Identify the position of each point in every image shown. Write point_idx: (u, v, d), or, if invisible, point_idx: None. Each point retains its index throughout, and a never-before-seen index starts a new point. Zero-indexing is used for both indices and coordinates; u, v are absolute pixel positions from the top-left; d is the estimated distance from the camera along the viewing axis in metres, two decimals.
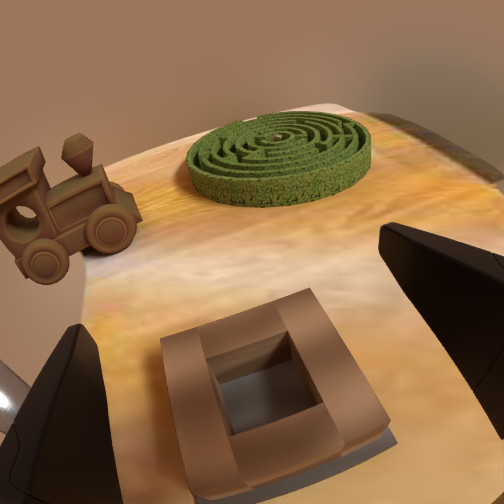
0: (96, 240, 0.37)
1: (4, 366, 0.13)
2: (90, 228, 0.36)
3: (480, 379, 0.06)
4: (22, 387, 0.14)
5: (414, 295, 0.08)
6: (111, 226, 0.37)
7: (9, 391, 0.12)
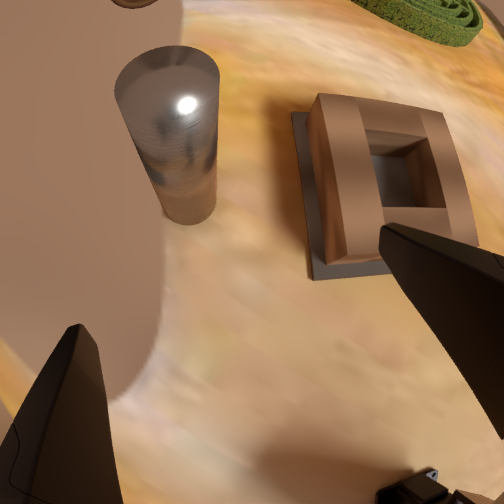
0: None
1: None
2: None
3: (480, 379, 0.06)
4: None
5: (414, 295, 0.08)
6: None
7: None
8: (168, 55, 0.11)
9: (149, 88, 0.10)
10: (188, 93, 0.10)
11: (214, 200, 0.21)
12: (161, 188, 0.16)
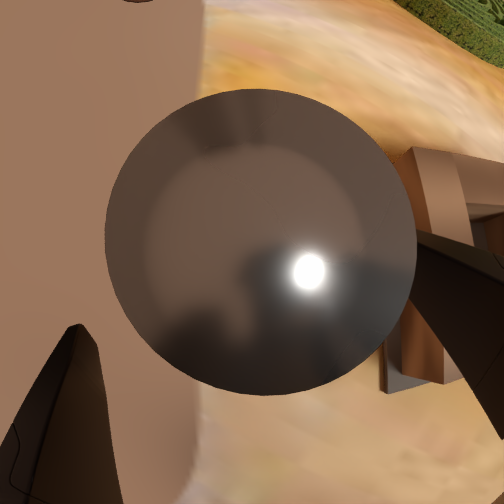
0: None
1: None
2: None
3: (480, 379, 0.06)
4: None
5: (414, 295, 0.08)
6: None
7: None
8: (264, 121, 0.04)
9: (225, 260, 0.04)
10: (349, 289, 0.04)
11: None
12: None
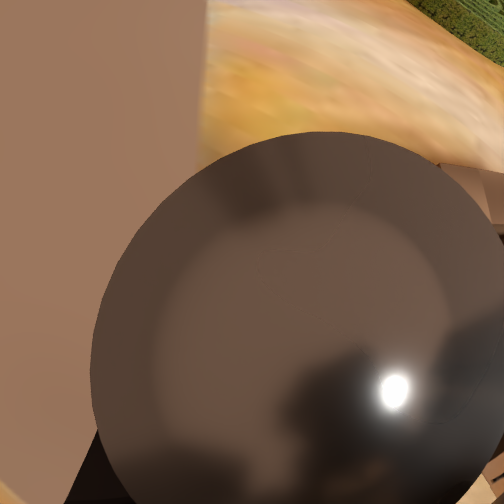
0: None
1: None
2: None
3: None
4: None
5: None
6: None
7: None
8: (356, 199, 0.02)
9: (298, 451, 0.02)
10: (451, 447, 0.02)
11: None
12: None
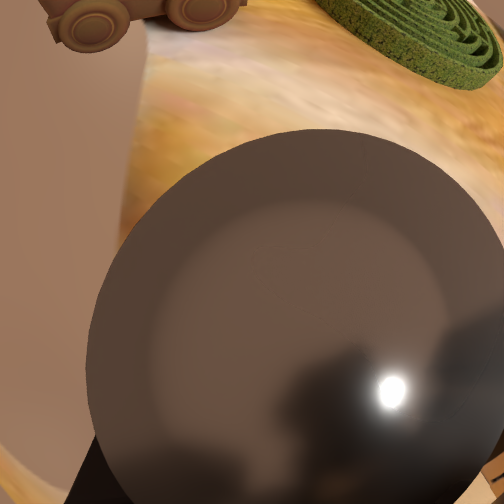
0: (179, 12, 0.22)
1: None
2: None
3: None
4: None
5: None
6: (209, 2, 0.21)
7: None
8: (351, 196, 0.02)
9: (294, 449, 0.02)
10: (449, 446, 0.02)
11: None
12: None
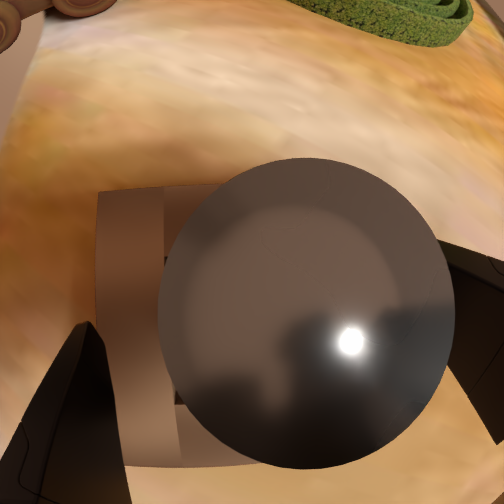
0: None
1: None
2: None
3: (475, 384, 0.06)
4: None
5: None
6: None
7: None
8: (318, 198, 0.04)
9: (287, 352, 0.03)
10: (398, 367, 0.04)
11: None
12: None
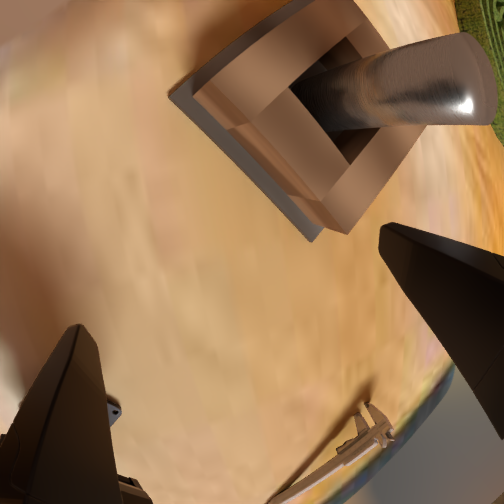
0: None
1: None
2: None
3: (480, 379, 0.06)
4: None
5: (414, 295, 0.08)
6: None
7: None
8: (485, 63, 0.09)
9: (469, 70, 0.09)
10: (481, 106, 0.09)
11: None
12: (346, 94, 0.14)
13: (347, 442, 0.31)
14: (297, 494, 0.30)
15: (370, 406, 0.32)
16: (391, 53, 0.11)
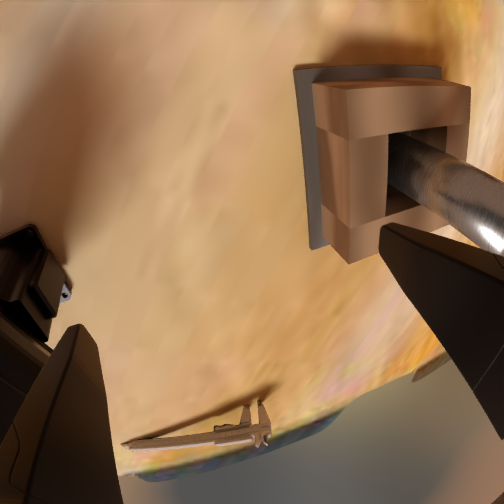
0: None
1: None
2: None
3: (480, 379, 0.06)
4: None
5: (414, 295, 0.08)
6: None
7: None
8: None
9: None
10: None
11: None
12: (424, 172, 0.17)
13: (227, 425, 0.35)
14: (159, 448, 0.34)
15: (261, 406, 0.36)
16: (477, 173, 0.14)
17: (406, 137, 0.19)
